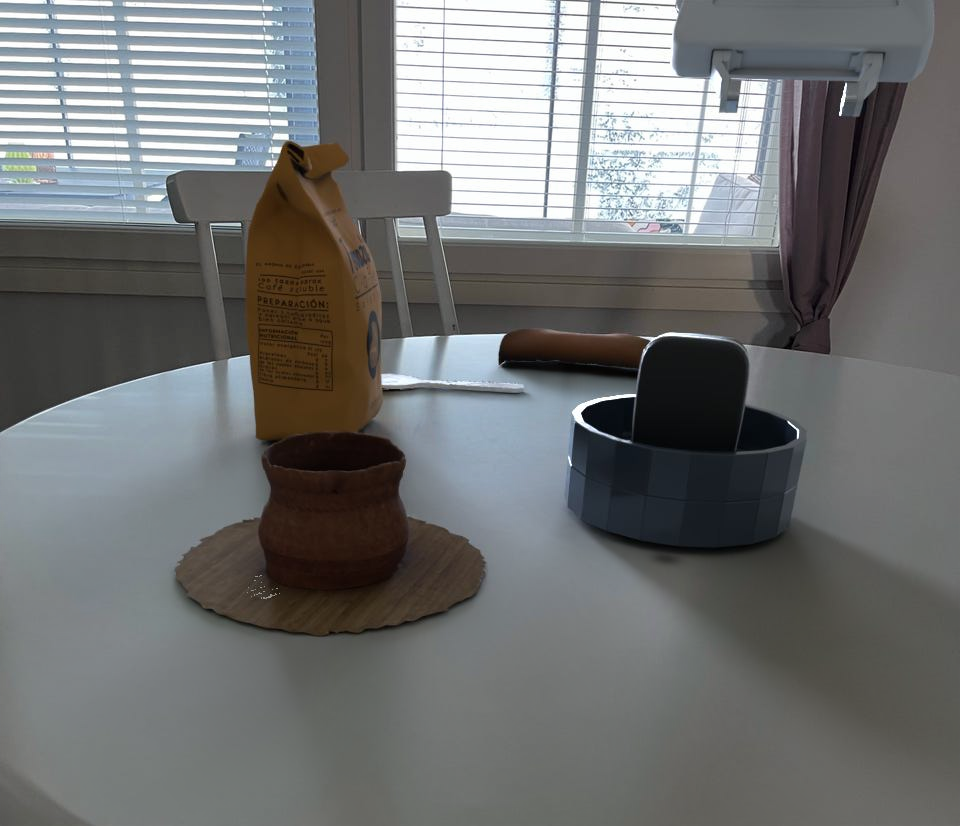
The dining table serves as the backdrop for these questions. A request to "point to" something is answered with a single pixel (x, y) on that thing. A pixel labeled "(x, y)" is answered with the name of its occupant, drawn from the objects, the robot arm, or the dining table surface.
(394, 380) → the spoon
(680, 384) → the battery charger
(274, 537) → the ceramic pot
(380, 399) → the coffee package
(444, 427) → the dining table surface
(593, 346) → the sunglasses case
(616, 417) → the faceted round bowl
